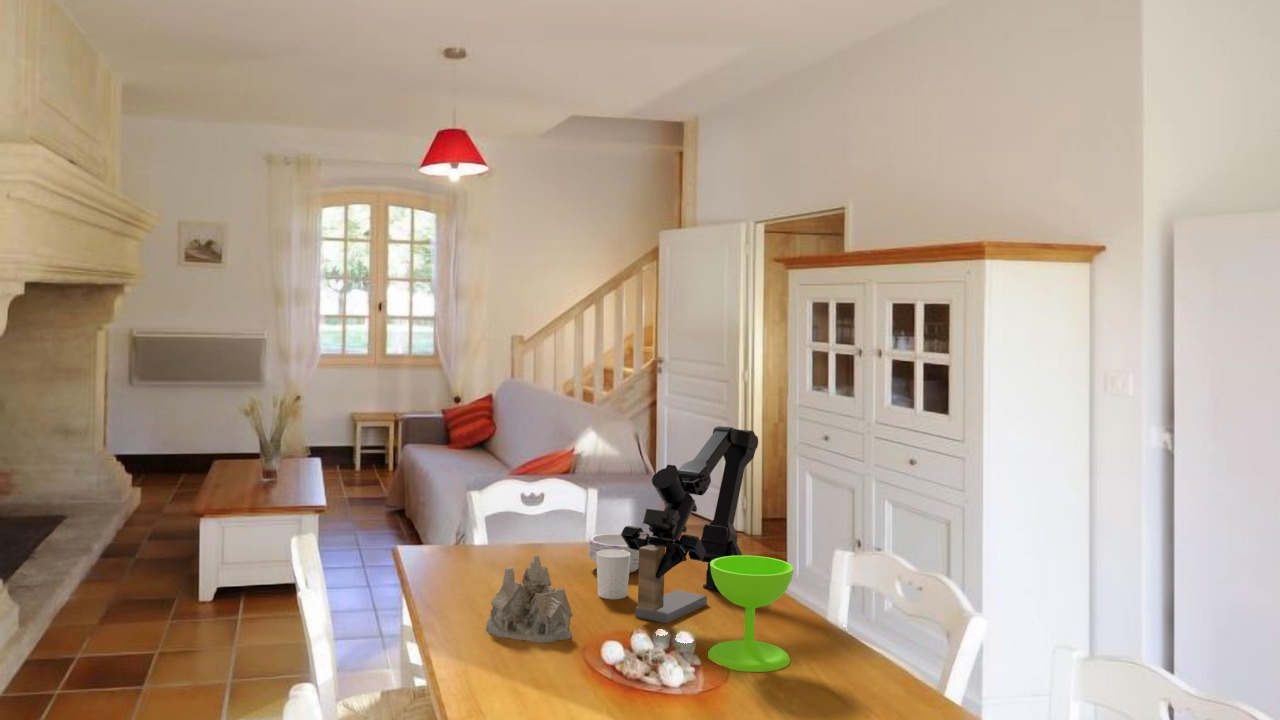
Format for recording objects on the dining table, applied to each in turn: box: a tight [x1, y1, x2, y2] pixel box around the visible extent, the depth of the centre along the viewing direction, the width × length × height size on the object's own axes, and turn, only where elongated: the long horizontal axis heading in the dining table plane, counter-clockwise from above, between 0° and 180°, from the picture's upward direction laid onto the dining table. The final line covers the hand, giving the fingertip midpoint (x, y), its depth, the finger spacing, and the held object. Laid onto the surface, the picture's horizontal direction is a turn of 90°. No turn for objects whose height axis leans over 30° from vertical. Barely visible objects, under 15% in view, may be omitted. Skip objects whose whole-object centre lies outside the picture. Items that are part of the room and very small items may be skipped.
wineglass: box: [707, 554, 794, 673], centre depth 197 cm, size 16×16×18 cm
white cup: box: [596, 549, 631, 600], centre depth 238 cm, size 8×8×10 cm
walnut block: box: [637, 545, 666, 611], centre depth 219 cm, size 4×4×13 cm
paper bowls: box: [588, 533, 639, 574], centre depth 263 cm, size 15×15×8 cm
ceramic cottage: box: [485, 554, 574, 643], centre depth 209 cm, size 16×16×15 cm
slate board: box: [634, 589, 708, 624], centre depth 227 cm, size 18×8×2 cm, turn 148°
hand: (648, 575), depth 218 cm, fingers closed on walnut block, 4 cm apart
